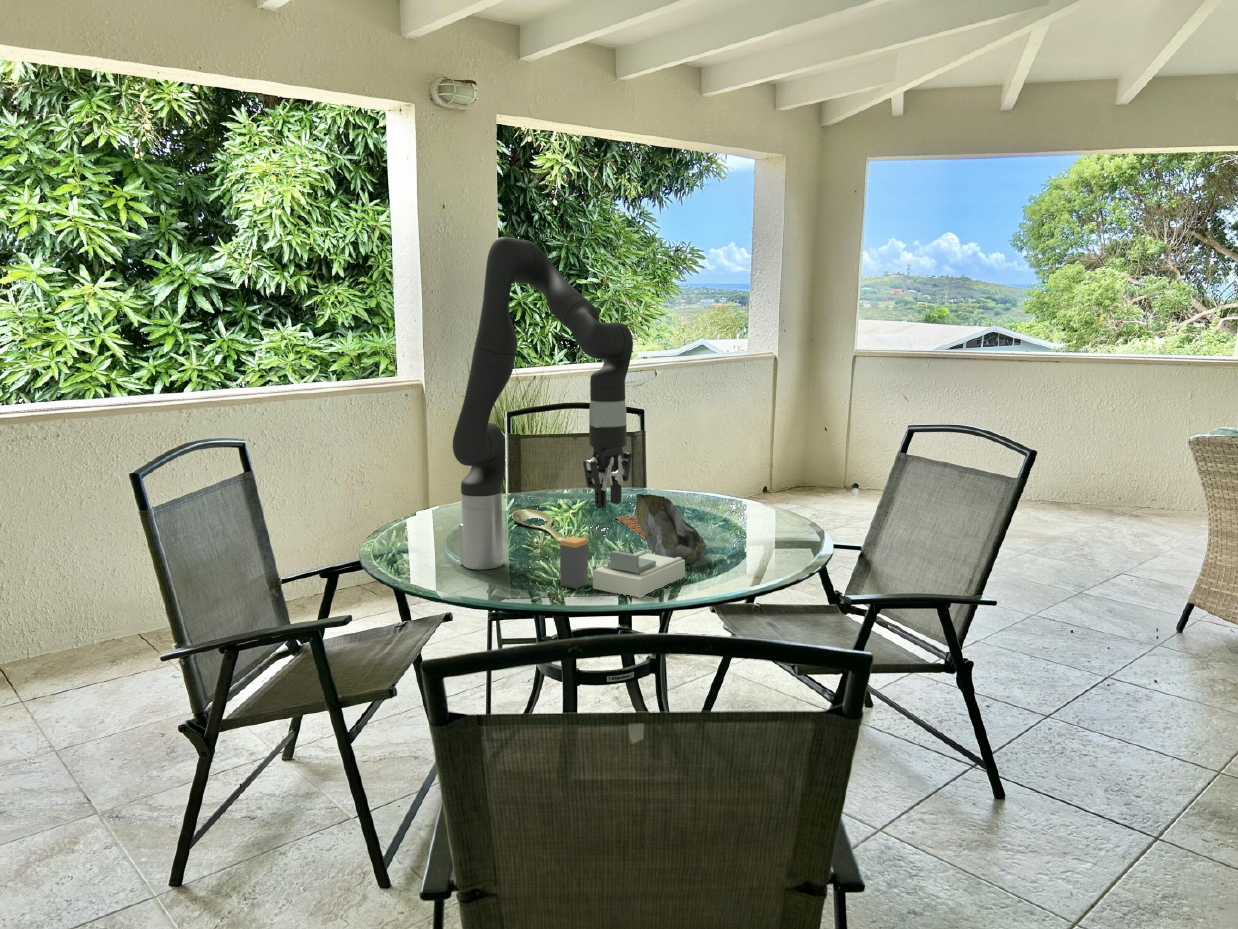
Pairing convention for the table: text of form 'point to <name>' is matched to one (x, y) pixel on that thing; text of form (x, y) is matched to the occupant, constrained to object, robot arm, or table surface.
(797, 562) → the table surface
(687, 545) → the stone
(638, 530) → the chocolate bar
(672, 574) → the socket block
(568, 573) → the plug
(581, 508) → the table surface
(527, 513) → the spoon
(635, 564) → the grey l-shaped block
